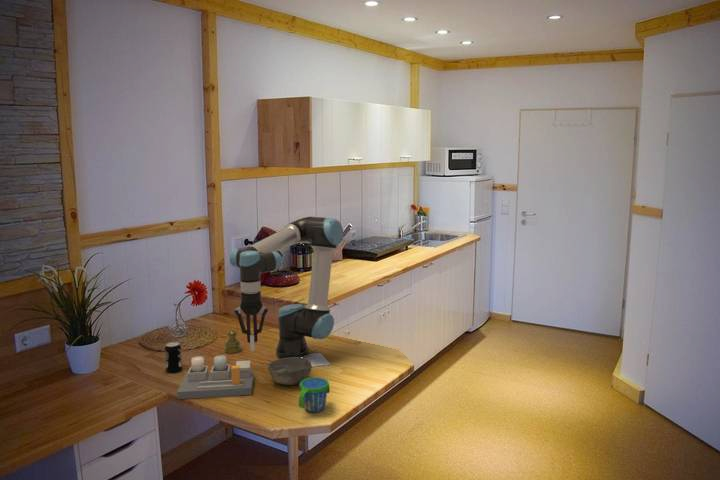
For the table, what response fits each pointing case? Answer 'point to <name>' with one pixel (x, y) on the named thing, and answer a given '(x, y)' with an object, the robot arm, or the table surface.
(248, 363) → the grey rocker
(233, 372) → the orange slider
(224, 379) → the console
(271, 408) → the table surface
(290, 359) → the bowl
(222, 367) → the pale blue rounded cube
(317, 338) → the robot arm
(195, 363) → the white rounded cube
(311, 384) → the snack cup
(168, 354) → the beverage can
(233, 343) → the green figurine
